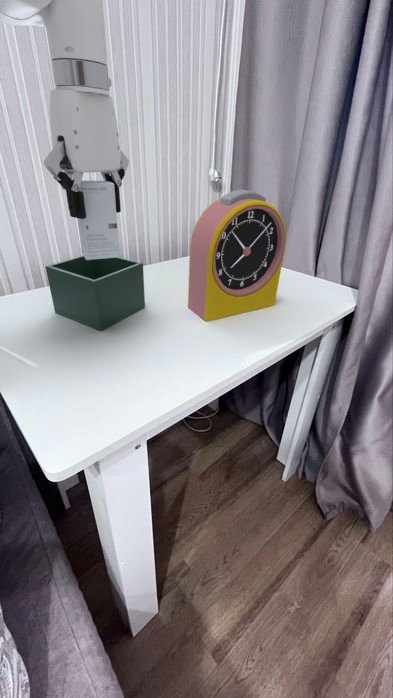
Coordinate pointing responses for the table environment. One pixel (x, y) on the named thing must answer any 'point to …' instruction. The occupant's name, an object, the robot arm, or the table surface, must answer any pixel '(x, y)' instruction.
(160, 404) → the table surface
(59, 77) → the robot arm
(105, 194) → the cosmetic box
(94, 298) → the bin
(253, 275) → the alarm clock
